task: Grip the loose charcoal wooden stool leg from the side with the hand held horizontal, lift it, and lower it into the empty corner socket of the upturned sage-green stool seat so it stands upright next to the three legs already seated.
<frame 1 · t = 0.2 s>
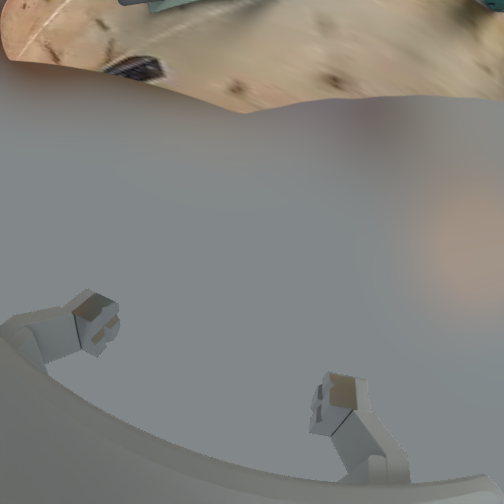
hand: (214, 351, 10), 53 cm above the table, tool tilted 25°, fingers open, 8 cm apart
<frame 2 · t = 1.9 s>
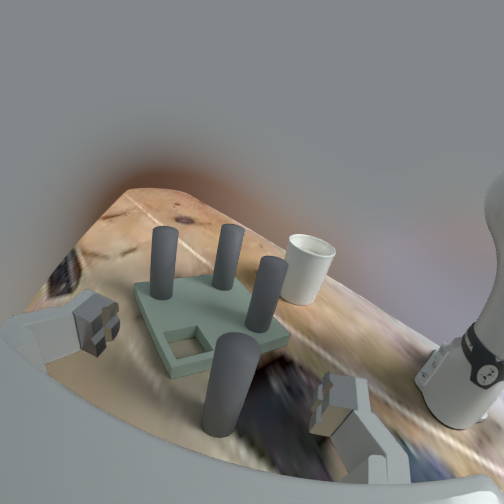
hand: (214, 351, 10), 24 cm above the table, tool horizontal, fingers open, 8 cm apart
stool leg: (218, 424, 30), on the table
stool seat: (205, 320, 47), on the table
candle holder: (295, 295, 61), on the table
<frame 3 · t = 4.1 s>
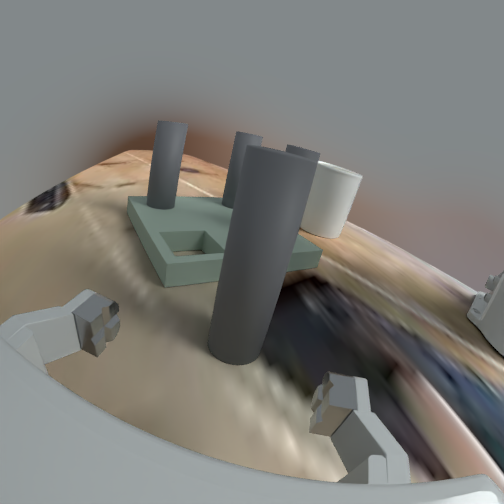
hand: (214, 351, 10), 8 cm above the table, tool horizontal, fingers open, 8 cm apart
stool leg: (234, 345, 21), on the table
stool seat: (213, 237, 38), on the table
candle holder: (317, 230, 52), on the table
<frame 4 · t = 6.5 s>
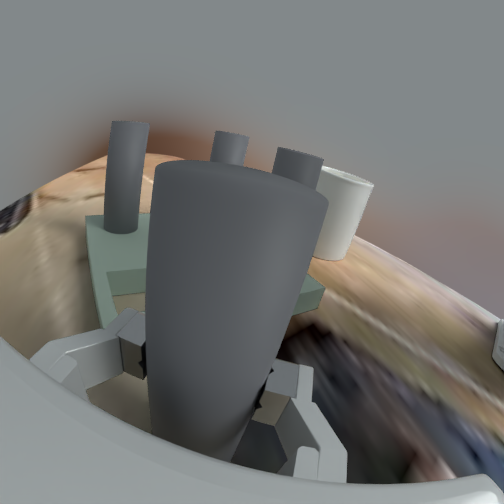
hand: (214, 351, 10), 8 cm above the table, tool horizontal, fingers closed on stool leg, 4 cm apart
stool leg: (192, 454, 12), on the table, touching gripper
stool seat: (185, 269, 30), on the table
candle holder: (318, 249, 44), on the table
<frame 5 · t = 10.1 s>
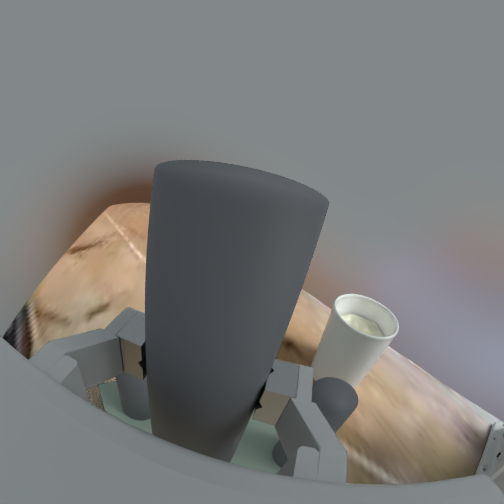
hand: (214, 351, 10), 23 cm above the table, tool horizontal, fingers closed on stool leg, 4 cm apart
stool leg: (192, 454, 12), point 15 cm above the table, touching gripper
stool seat: (210, 443, 26), on the table
candle holder: (334, 375, 40), on the table
when the fingers open (9 cm above the table, at t = 13.6 s): stool leg stays where it is, resting in stool seat.
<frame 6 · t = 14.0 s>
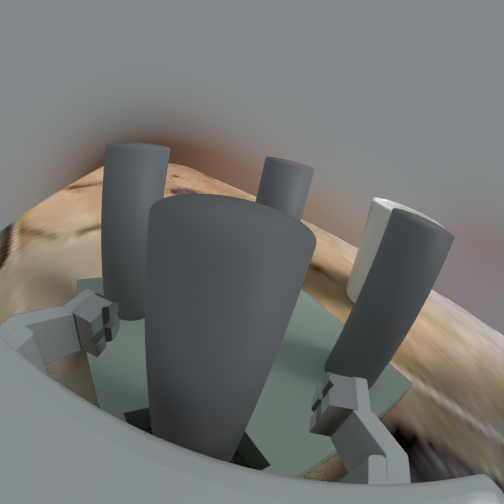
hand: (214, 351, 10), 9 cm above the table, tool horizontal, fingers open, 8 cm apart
stool leg: (191, 460, 13), resting in stool seat
stool seat: (229, 365, 20), on the table
candle holder: (373, 301, 34), on the table
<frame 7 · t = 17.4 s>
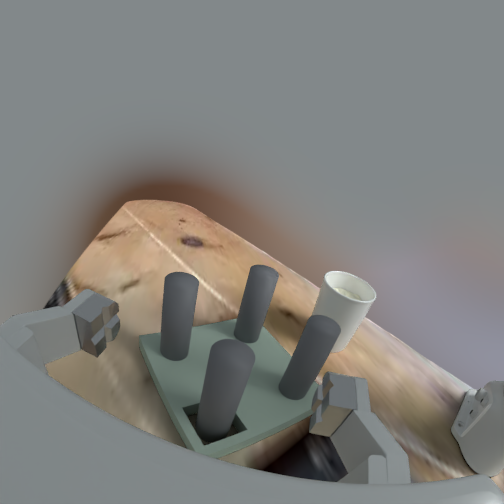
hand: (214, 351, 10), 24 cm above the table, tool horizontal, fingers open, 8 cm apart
stool leg: (211, 429, 29), resting in stool seat
stool seat: (229, 382, 37), on the table
candle holder: (325, 339, 52), on the table
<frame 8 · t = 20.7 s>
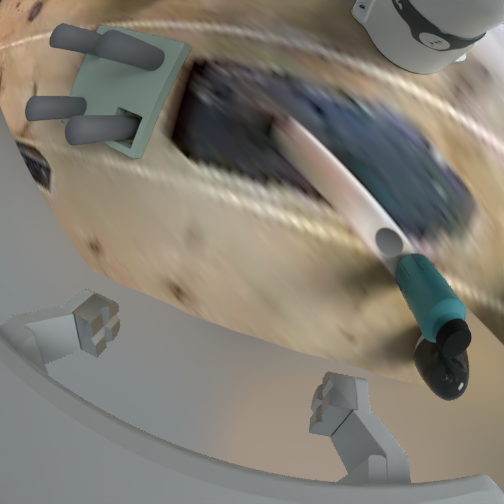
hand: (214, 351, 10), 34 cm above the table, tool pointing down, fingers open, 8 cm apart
stool leg: (132, 127, 42), resting in stool seat
stool seat: (121, 85, 39), on the table
beverage bottle: (410, 266, 41), on the table
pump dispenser: (432, 337, 45), on the table
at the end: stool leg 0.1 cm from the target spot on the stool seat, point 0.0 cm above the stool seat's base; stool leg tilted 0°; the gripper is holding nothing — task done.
